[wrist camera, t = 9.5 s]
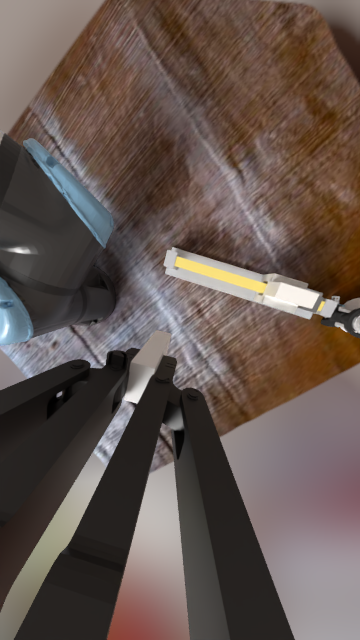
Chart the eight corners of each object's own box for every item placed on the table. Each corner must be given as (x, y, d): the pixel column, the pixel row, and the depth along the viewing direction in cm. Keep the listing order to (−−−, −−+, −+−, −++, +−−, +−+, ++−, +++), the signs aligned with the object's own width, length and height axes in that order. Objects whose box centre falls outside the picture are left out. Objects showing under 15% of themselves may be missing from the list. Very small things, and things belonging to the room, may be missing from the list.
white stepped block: (252, 300, 37) (270, 306, 27) (263, 274, 35) (285, 271, 26) (280, 309, 36) (307, 318, 27) (292, 283, 35) (324, 283, 26)
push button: (319, 295, 37) (359, 299, 28) (346, 296, 37) (397, 301, 27) (313, 324, 39) (349, 338, 29) (339, 326, 38) (384, 341, 28)
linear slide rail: (165, 273, 40) (159, 272, 34) (172, 247, 39) (167, 240, 32) (307, 318, 39) (328, 325, 32) (320, 293, 37) (345, 295, 31)
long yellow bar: (170, 268, 36) (167, 266, 33) (174, 253, 35) (172, 250, 32) (320, 315, 34) (331, 318, 32) (328, 300, 34) (340, 302, 31)
